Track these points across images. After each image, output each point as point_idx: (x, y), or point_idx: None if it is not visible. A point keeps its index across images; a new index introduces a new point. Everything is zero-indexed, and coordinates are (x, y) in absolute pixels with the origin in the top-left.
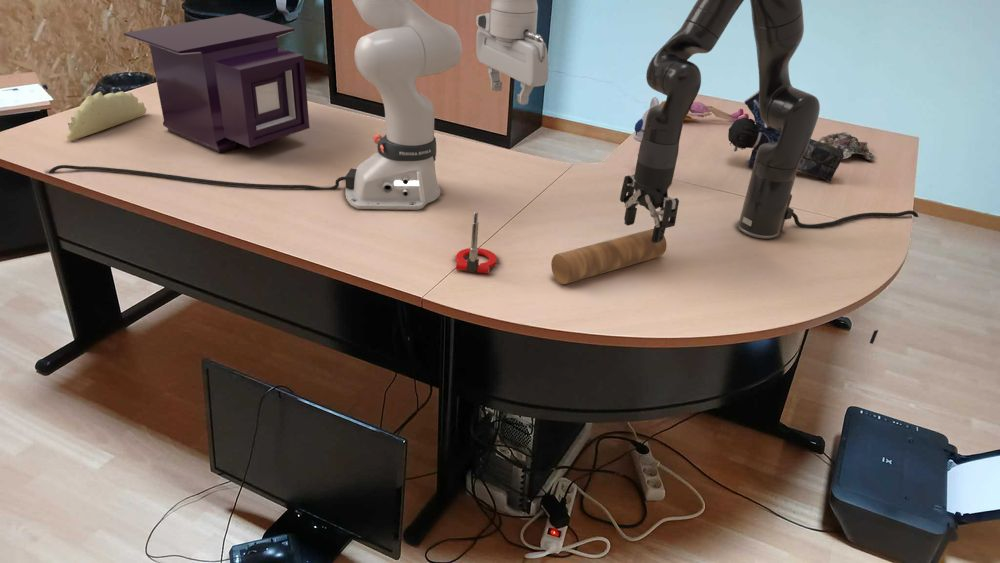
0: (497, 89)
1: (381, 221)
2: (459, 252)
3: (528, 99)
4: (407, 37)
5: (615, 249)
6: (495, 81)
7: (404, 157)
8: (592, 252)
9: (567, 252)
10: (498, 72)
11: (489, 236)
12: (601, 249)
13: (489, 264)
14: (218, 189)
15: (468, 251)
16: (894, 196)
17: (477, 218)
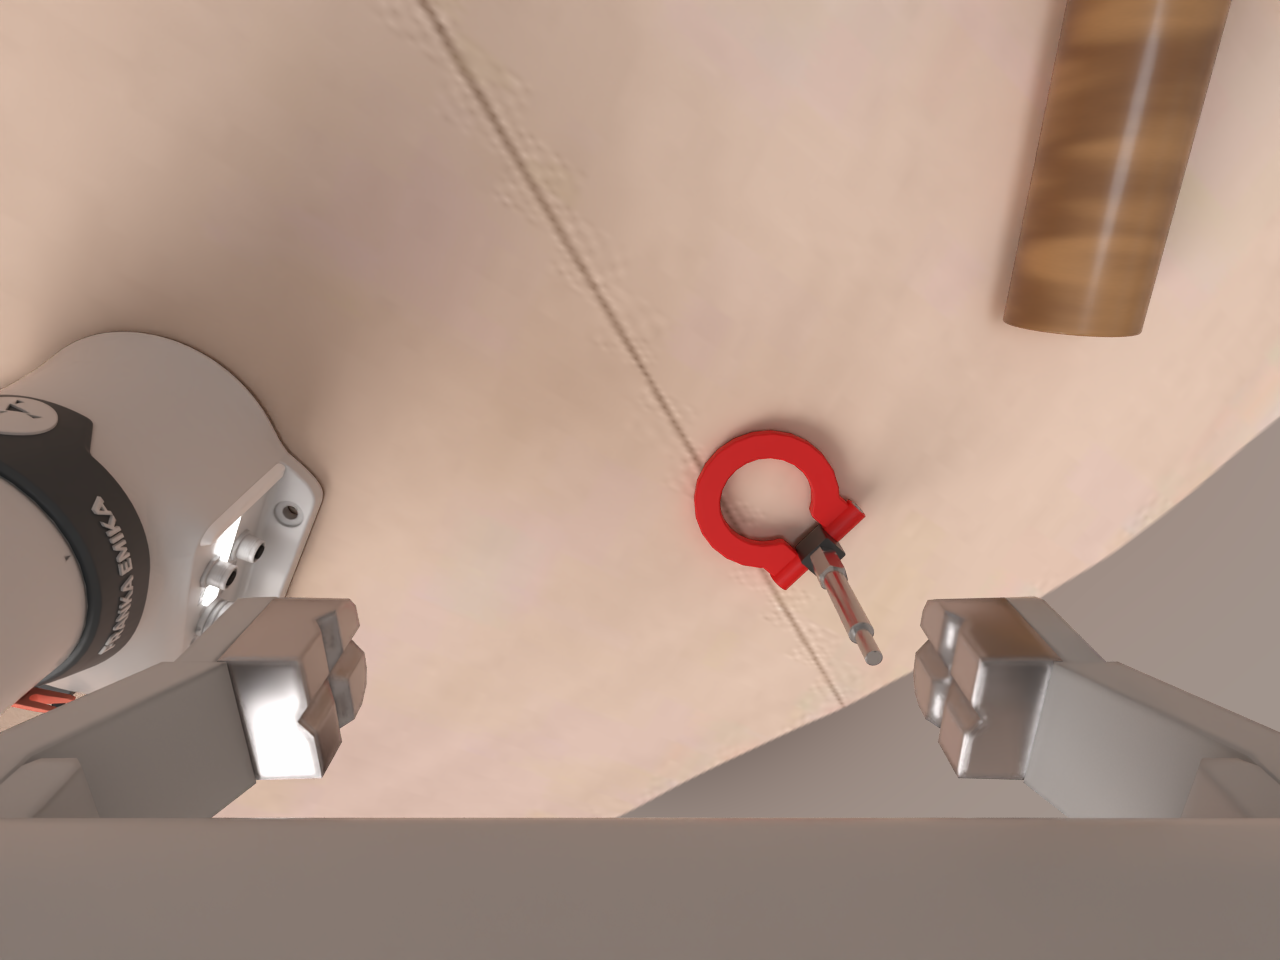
0: (353, 664)
1: (368, 636)
2: (710, 536)
3: (1063, 621)
4: None
5: (1214, 43)
6: (246, 737)
7: (130, 621)
8: (1169, 185)
9: (1101, 296)
10: (59, 746)
11: (626, 357)
12: (1183, 125)
13: (835, 493)
14: None
15: (718, 506)
16: None
17: (875, 642)
